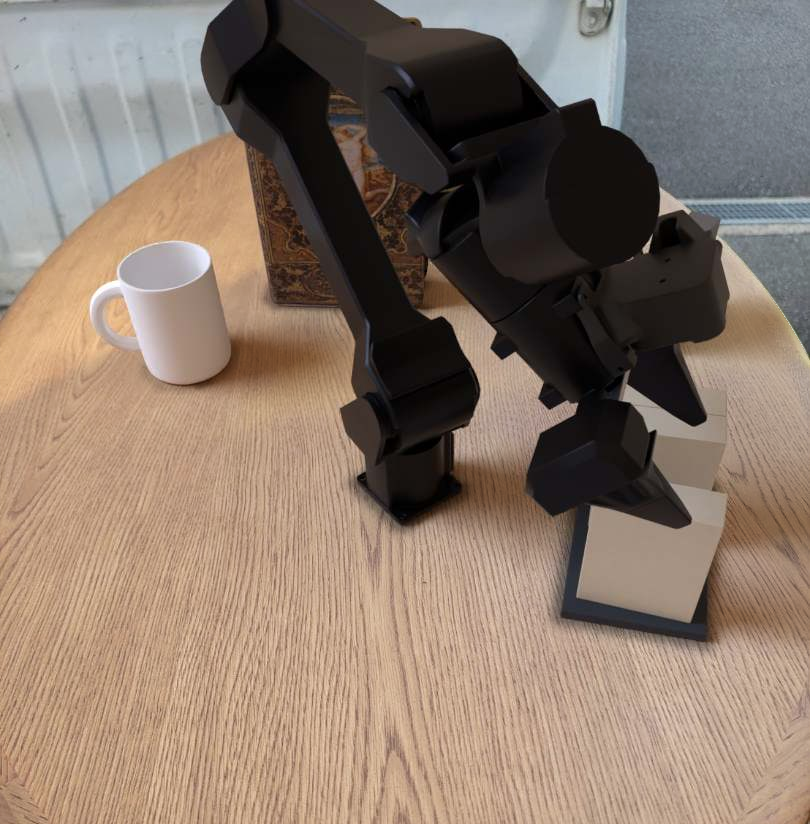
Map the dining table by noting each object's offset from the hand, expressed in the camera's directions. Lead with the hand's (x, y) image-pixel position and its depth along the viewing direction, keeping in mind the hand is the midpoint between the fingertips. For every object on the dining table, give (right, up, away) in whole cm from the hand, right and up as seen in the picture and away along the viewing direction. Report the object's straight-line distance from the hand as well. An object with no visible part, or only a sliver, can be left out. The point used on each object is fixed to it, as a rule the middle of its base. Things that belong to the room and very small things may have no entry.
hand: (693, 471), depth 53 cm
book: (-23, +22, +39) cm, 50 cm away
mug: (-40, +13, +32) cm, 53 cm away
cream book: (-1, -8, +10) cm, 13 cm away
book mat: (0, -5, +14) cm, 15 cm away
